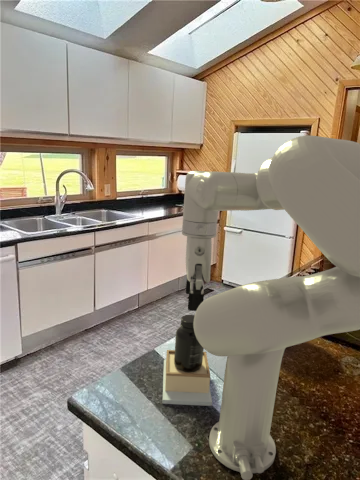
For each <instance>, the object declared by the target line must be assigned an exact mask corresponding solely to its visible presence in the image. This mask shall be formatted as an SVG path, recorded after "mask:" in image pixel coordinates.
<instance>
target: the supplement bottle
mask: <svg viewBox="0 0 360 480" xmlns="http://www.w3.org/2000/svg"><path fill="white" fill-rule="evenodd" d="M194 316H195V314H185V315H183V316H182V317H181V318H180V325H179V327H178V328H177V329H176V331H175V339H174V340H175V341H174V342H175V343H174V350H175V355H174V364H175V366H176V368H178V369H179V370H181V371H184V372H195V371H198V370H199V369H200V368H201V367H202V361H203V352H204V350H205V349H204V348H203V347H202V346H201V345H200V343H199V342H198V340H197V338H196V336H195V332H194Z"/></svg>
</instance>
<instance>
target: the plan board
mask: <svg viewBox="0 0 360 480" xmlns="http://www.w3.org/2000/svg"><path fill="white" fill-rule="evenodd" d="M174 355H175V349H166V357H165V359H163V374H162V375H163V377H162V400H161V402H162V404H163V405H183V406H185V405H186V406H203V407H204V406H206V407H212V406H213V398H212V393H211V387H210V384H211V383H210V382H211V372H210V365H209V361H208V360H209V359H208V355H207V351H203V361H202V367H201V368H200V369H199V370H198V371H195V372H184V371H181V370H179V369H178V368H176V366H175V364H174Z"/></svg>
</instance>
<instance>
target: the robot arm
mask: <svg viewBox="0 0 360 480" xmlns="http://www.w3.org/2000/svg"><path fill="white" fill-rule="evenodd" d="M261 210H262V211H263V210H273V211H284V210H285V213H287V214H288V215H289V217H290V218H291V219H292V220H293V221H294V222H295V224H297V226H298V227H300V229H301V230H302V232H303V233H304V234H305V235H306V237H308V239H309V240H310V241H311V242H312V243H313V245H315V247H317V249H318V250H319V252H321V254H323V256H324V257H325V258H326V259H327V260H328V261H329V262H331V264H332V265H334V267H332V268H330V269H326V270H323V271H320V272H316V273H312V274H307V275H304V276H288V277H281V278H274V279H266V280H259V281H254V282H249V283H246V284H242V285H239V286H236V287H234V288H231V289H228V290H226V291H225V290H224V291H222V292H220V293H218V294H214V295H212V296H209V297H208V298H205V293H204V292H205V289H204V287H205V286H204V282H206V284H208V283H210V281H211V268H212V267H211V265H212V264H211V263H212V250H213V249H212V245H213V244H212V238H214V239H215V238H216V237H217V229H218V227H217V226H218V216H219V212H221V211H222V212H224V211H225V212H227V211H228V212H229V211H243V212H244V211H247V212H248V211H261ZM182 213H183V214H182V227H181V230H182V231H181V235H183V236H184V237H186V246H185V247H186V248H185V273H186V283H185V284H186V286H185V293H186V295H188V301H187V310H188V311H194V312H195V313H194V315H195V316H194V332H195V336H196V338H197V340H198V342H199V343H200V345H201V346H202V347H203V348H204V350H205V352H206V353H207V352H208V353H209V354H210V355H213V356H216V357H226V362H225V368H224V375H223V376H224V377H223V383H222V392H221V394H222V395H221V402H220V403H221V404H220V410H219V411H220V412H219V421H218V422H216V423H215V424H214V425H213V426H212V428H211V429H210V432H209V438H208V443H209V444H208V445H209V448H210V450H211V452H212V455H213V456H214V458H215V459H217V461H218V462H220V464H222V465H224V466H225V467H226V468H228V469H231V470H233V471H236V472H239V473H240V475H241V476H240V477H241V478H242V480H251V479H253V474H262V473H264V472H265V471H266V470H268V469H269V468H271V466H272V465H273V464H274V461H275V459H276V454H277V453H276V451H277V448H276V443H275V440H274V439H273V437H272V436H271V433H270V432H271V427H272V423H273V422H272V420H273V415H274V408H275V401H276V397H277V396H276V395H277V394H276V393H277V389H278V382H279V377H280V370H281V367H282V366H281V364H282V360H283V357H284V354H285V350H286V348H289V347H292V346H296V345H300V344H302V343H303V344H304V343H307V342H310V341H312V340H314V339H317V338H320V337H324V336H329V335H333V334H335V335H336V334H341V333H347V332H348V333H349V332H353V331H359V330H360V143H359V142H356V141H353V140H348V139H340V138H332V137H325V136H319V135H318V136H317V135H301V136H296V137H294V138H291V139H289V140H287V141H286V142H284V143H283V144H282V145H281V146H280V147H278V148H277V150H276V151H275V152H274V154H273V156H272V157H269V158H267V159H266V160H265V161H264V162H263V163H262V164H261V165H260V167H259V168H258V171H257V172H252V173H248V172H246V173H245V172H235V171H234V172H233V171H209V170H208V171H205V170H191V171H188V172H187V174H186V175H185V182H184V199H183V212H182Z"/></svg>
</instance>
